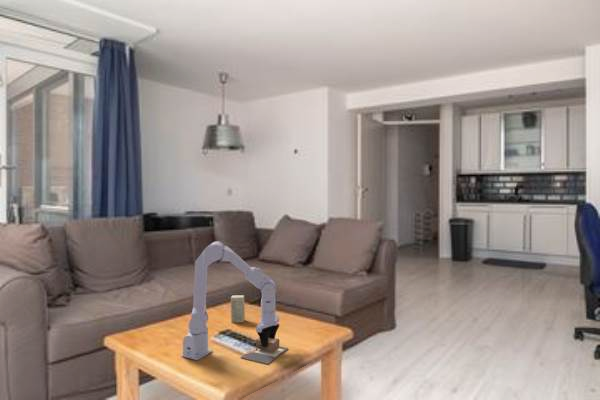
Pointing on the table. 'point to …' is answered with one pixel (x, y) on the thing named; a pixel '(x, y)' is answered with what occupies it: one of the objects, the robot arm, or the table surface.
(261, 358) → the mat
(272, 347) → the banded brown carton
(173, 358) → the table surface
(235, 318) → the skincare box
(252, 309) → the table surface
